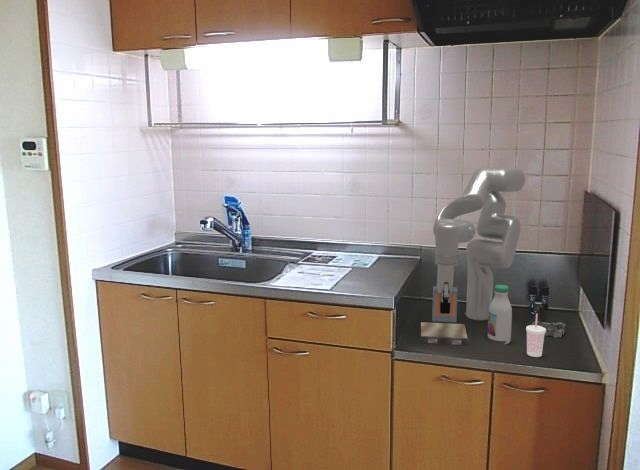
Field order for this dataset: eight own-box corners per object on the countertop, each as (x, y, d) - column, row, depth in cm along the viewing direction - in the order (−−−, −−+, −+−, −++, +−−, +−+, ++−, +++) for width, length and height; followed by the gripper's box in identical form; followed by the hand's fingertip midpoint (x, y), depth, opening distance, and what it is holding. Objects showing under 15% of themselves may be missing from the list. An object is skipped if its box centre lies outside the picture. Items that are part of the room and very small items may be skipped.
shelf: (464, 328, 209) (464, 319, 208) (468, 349, 189) (469, 339, 188) (420, 325, 212) (421, 317, 211) (420, 346, 192) (420, 337, 191)
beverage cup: (543, 351, 187) (545, 311, 184) (545, 358, 181) (547, 317, 178) (523, 349, 188) (526, 310, 186) (525, 356, 183) (527, 316, 180)
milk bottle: (510, 338, 198) (513, 284, 194) (510, 346, 191) (513, 290, 187) (488, 335, 201) (490, 282, 197) (486, 343, 194) (489, 288, 190)
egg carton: (566, 333, 202) (567, 323, 202) (559, 340, 197) (560, 329, 196) (536, 327, 209) (537, 316, 208) (529, 332, 204) (529, 322, 203)
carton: (455, 317, 195) (456, 287, 193) (456, 322, 190) (457, 291, 188) (432, 316, 197) (433, 286, 195) (432, 321, 192) (433, 290, 190)
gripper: (434, 253, 199) (433, 302, 202) (435, 265, 182) (434, 318, 185) (456, 254, 197) (454, 303, 201) (459, 265, 181) (457, 319, 184)
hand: (444, 309), depth 193 cm, fingers closed on carton, 5 cm apart
